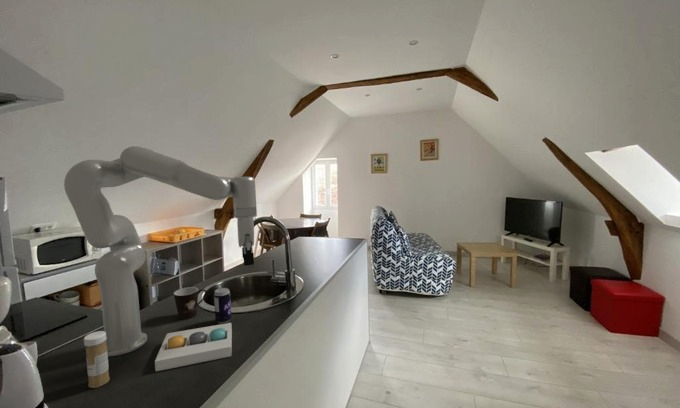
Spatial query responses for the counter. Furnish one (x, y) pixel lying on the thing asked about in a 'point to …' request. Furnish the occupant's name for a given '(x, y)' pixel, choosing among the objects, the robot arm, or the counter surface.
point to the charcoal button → (197, 338)
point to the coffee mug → (187, 302)
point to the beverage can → (222, 305)
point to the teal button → (217, 334)
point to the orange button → (176, 342)
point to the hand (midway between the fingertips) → (248, 261)
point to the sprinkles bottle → (97, 359)
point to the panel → (194, 348)
